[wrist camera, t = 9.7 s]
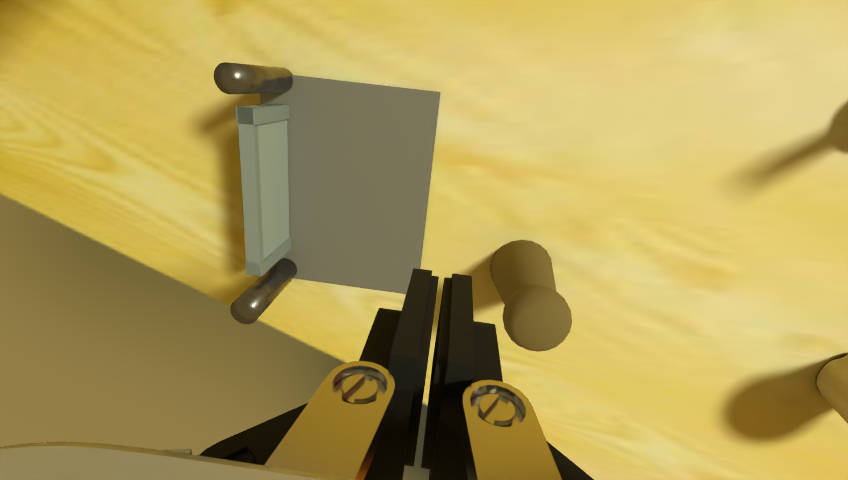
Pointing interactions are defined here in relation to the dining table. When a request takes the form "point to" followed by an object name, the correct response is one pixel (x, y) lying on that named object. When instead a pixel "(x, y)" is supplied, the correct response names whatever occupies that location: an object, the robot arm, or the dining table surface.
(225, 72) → the hinge post
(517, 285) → the cork
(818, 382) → the flower pot
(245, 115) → the gate
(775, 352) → the dining table surface
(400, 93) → the mat
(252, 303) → the stile
